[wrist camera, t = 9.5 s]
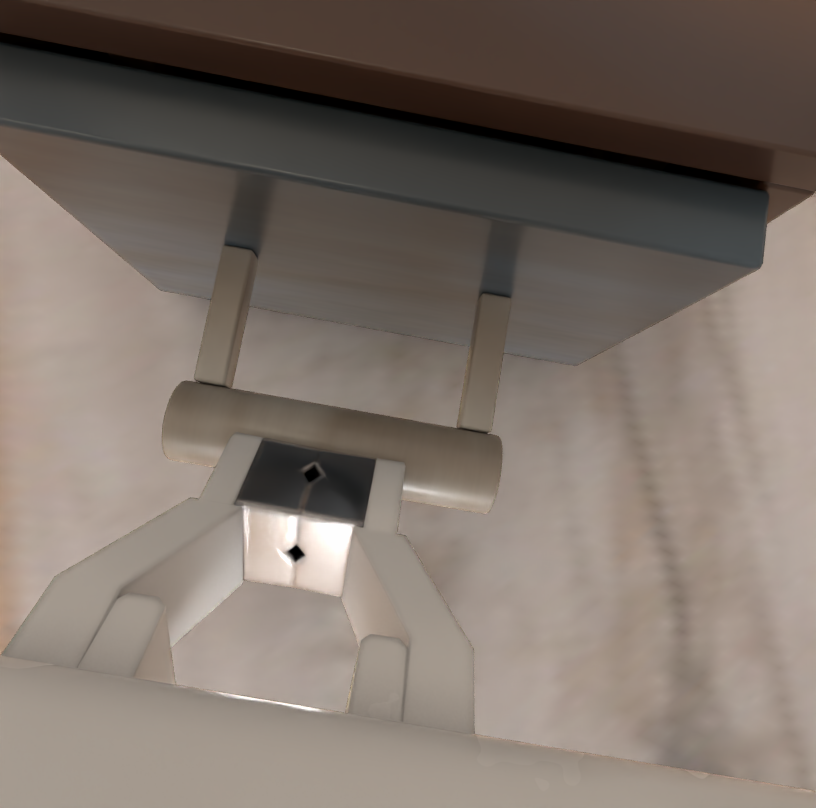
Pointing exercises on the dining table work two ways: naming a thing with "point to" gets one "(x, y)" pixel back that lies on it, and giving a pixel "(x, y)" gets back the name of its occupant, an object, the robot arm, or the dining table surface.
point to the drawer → (366, 240)
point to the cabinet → (504, 67)
